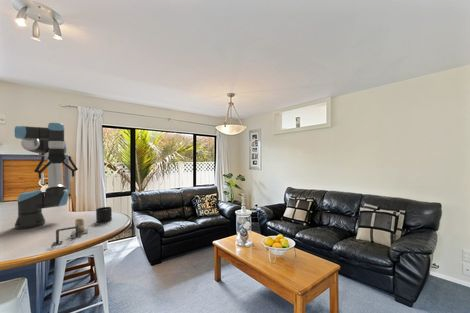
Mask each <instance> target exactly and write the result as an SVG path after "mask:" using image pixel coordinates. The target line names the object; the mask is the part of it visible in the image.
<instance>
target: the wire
mask: <svg viewBox="0 0 470 313" xmlns="http://www.w3.org/2000/svg"><path fill="white" fill-rule="evenodd" d="M75 228H76V229H75ZM73 229H75V231H76V235H73V236H71V239H72V240H73V239H78V238H82V235H81V234H79V235H78V224H76V225H75V226H70V227H64V228H58V229H57V230H55V241H54V242H52V244H51V246H52V247H53V246H59V245H63V243H64V240H60V232H61V231H67V230H73Z"/></svg>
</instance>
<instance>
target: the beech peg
mask: <svg viewBox="0 0 470 313" xmlns="http://www.w3.org/2000/svg"><path fill="white" fill-rule="evenodd" d="M74 221H75V225H76V224H78V233H82V232H84V229H85V217H78V218H75V220H74ZM75 230H76V228H75Z"/></svg>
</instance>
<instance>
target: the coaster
mask: <svg viewBox="0 0 470 313" xmlns="http://www.w3.org/2000/svg"><path fill="white" fill-rule="evenodd" d="M88 231H89V229H88V228H84V232H82V233H78V235H79V234H81V236H82V235H86V234H87V235H88V233H89V232H88ZM73 235H76V230H72V231H71V233H70V237H73Z"/></svg>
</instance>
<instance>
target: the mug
mask: <svg viewBox="0 0 470 313" xmlns="http://www.w3.org/2000/svg"><path fill="white" fill-rule="evenodd" d="M95 211H96V212H95V216H96V219H95V220H96V223H97V224H102V223H103V222H104V223H108V221H109V222H111V221H112V220H113V218H112V215H113V214H112V211H113V210H112V207H111V206H103V207H98V208H96V209H95Z"/></svg>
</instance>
